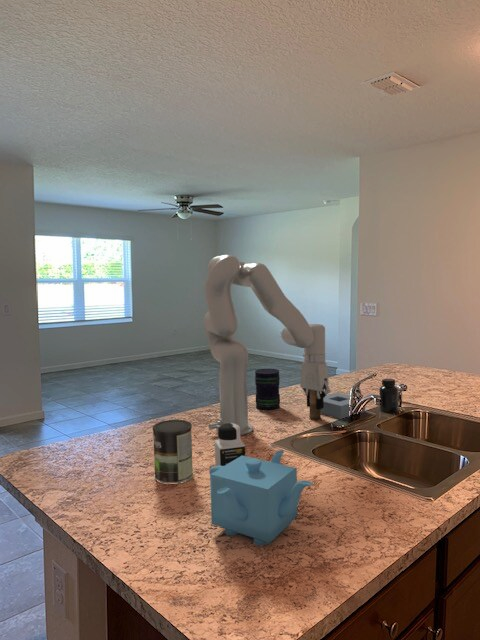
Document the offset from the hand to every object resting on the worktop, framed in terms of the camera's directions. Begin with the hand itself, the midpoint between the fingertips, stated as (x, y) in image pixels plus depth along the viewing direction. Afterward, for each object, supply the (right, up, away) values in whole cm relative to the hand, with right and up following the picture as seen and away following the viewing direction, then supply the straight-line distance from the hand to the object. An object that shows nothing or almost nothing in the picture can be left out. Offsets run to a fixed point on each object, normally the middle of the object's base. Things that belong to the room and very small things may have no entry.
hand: (315, 407), depth 173 cm
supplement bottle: (+30, -3, +8) cm, 31 cm away
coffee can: (-45, -10, -47) cm, 66 cm away
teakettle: (-23, -12, -74) cm, 78 cm away
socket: (+10, -3, +8) cm, 14 cm away
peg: (0, -4, 0) cm, 4 cm away
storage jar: (-16, -4, +17) cm, 24 cm away
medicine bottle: (-30, -9, -41) cm, 52 cm away
